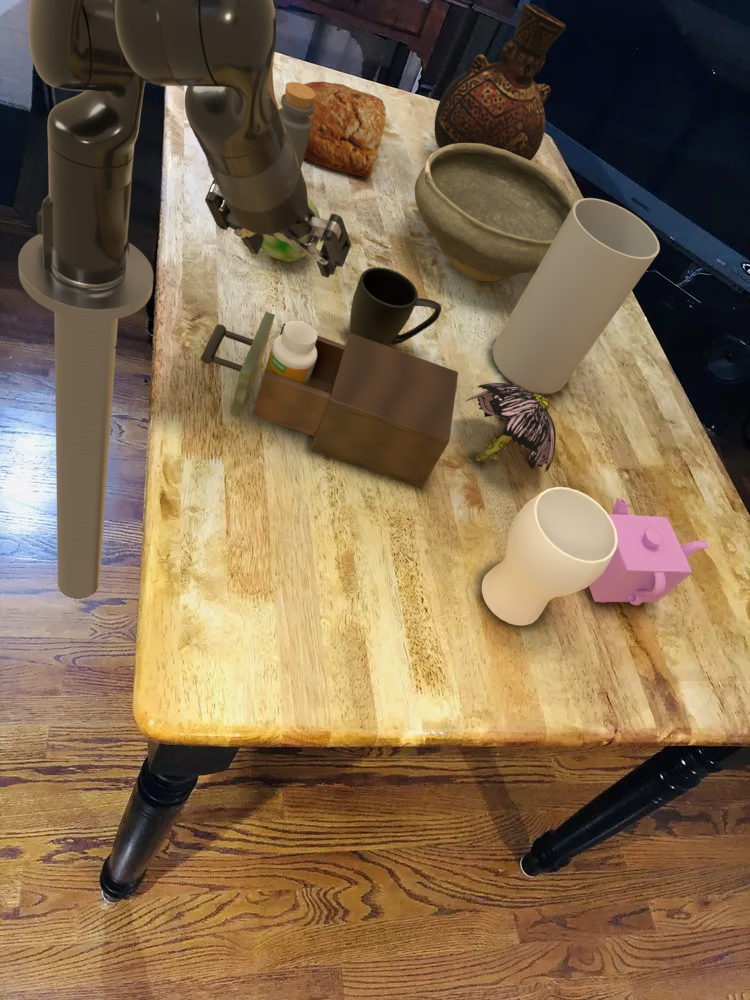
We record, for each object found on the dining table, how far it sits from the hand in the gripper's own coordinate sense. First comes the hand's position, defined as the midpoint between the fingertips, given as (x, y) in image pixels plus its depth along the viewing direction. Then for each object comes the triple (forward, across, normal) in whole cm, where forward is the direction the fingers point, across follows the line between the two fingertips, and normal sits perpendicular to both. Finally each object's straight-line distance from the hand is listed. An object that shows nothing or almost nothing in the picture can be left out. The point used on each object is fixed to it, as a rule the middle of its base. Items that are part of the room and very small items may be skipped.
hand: (292, 257), depth 83 cm
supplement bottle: (+13, -1, +12) cm, 17 cm away
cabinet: (+18, -12, +12) cm, 25 cm away
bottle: (+38, +22, -28) cm, 52 cm away
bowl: (+46, -12, -28) cm, 55 cm away
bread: (+48, +22, -43) cm, 68 cm away
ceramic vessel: (+61, -3, -53) cm, 81 cm away
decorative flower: (+25, -28, +7) cm, 38 cm away
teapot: (+22, -46, +18) cm, 54 cm away
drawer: (+13, 0, +12) cm, 18 cm away
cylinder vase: (+37, -28, -10) cm, 47 cm away
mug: (+27, -7, -3) cm, 28 cm away
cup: (+14, -35, +26) cm, 46 cm away
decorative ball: (+28, +13, -12) cm, 33 cm away
